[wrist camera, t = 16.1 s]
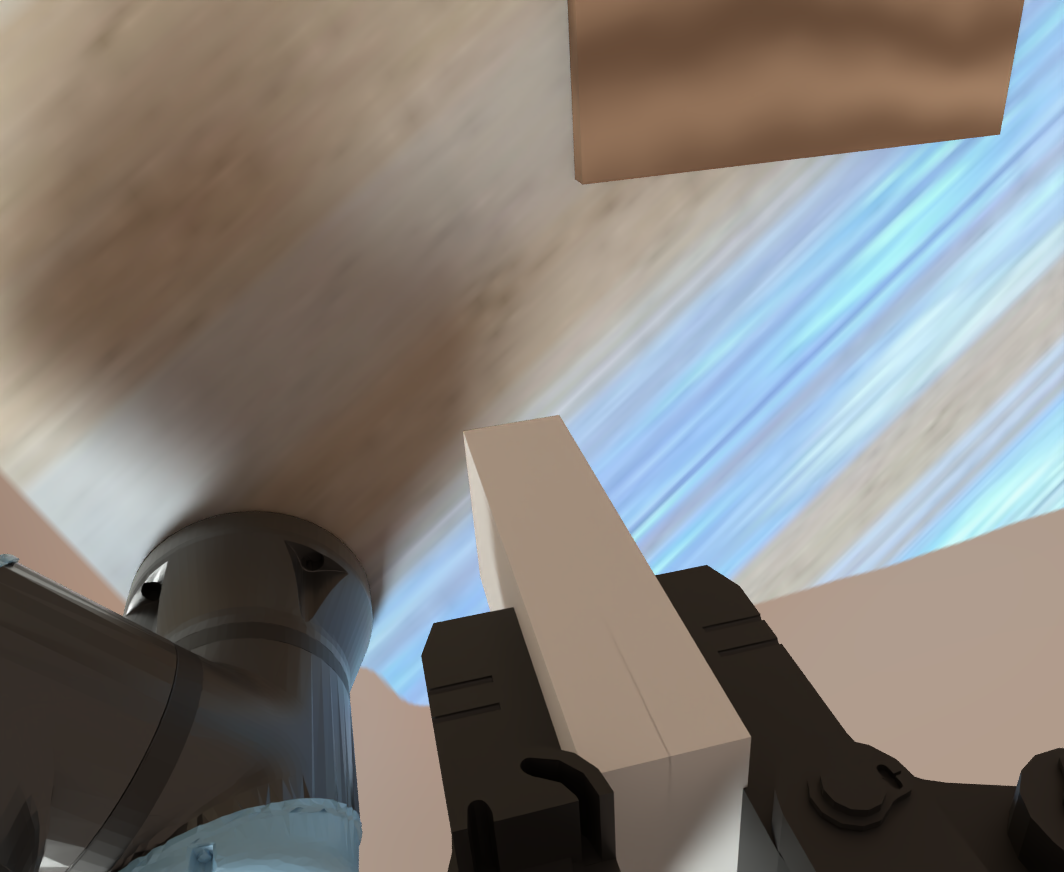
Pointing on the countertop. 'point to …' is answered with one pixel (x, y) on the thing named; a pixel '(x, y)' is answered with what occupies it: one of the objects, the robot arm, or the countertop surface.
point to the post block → (779, 79)
